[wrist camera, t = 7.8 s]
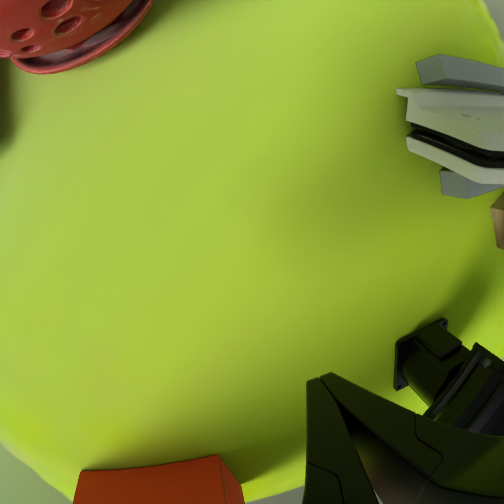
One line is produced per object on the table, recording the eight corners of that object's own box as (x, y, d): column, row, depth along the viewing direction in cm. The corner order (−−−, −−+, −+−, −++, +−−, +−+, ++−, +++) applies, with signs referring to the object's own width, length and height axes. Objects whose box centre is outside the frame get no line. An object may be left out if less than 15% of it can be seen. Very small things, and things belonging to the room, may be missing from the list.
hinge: (498, 92, 20) (571, 124, 12) (496, 131, 23) (564, 169, 15) (392, 88, 18) (500, 123, 10) (393, 144, 21) (488, 200, 13)
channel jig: (521, 172, 23) (546, 176, 19) (442, 194, 21) (476, 200, 17) (504, 77, 19) (529, 74, 16) (415, 62, 18) (447, 51, 14)
